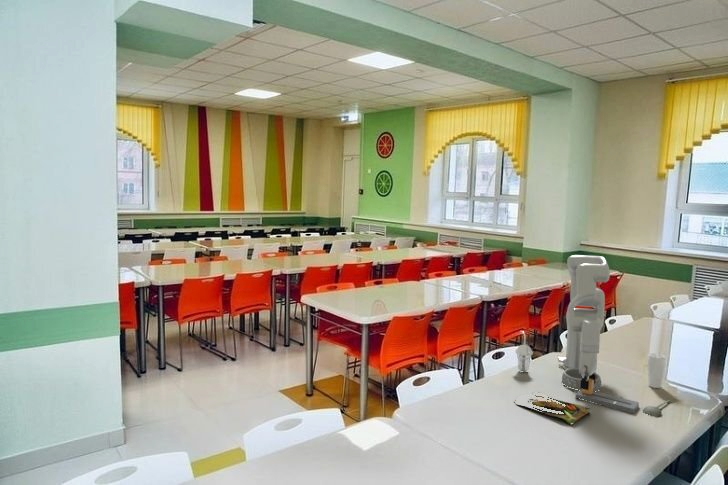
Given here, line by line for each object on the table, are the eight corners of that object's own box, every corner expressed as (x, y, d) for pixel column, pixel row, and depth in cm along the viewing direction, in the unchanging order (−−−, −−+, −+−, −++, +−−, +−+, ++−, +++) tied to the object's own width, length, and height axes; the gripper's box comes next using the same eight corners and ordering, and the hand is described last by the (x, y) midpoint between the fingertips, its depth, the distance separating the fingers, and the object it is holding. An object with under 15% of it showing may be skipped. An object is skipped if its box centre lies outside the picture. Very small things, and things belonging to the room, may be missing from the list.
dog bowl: (601, 381, 240) (601, 370, 240) (601, 395, 224) (601, 383, 223) (563, 375, 248) (563, 365, 247) (560, 388, 231) (561, 377, 231)
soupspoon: (639, 415, 206) (656, 421, 201) (640, 407, 205) (657, 413, 200) (662, 400, 219) (678, 406, 214) (662, 393, 219) (679, 398, 213)
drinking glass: (665, 389, 230) (667, 358, 229) (649, 388, 231) (651, 357, 230) (659, 384, 237) (662, 353, 235) (644, 383, 238) (646, 352, 237)
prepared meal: (510, 395, 213) (534, 385, 224) (509, 403, 214) (533, 392, 225) (572, 421, 192) (595, 408, 203) (571, 430, 192) (594, 416, 203)
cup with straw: (513, 373, 250) (515, 334, 248) (515, 367, 258) (517, 329, 256) (531, 375, 247) (533, 336, 245) (532, 369, 255) (534, 331, 253)
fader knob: (581, 392, 220) (582, 379, 220) (583, 390, 223) (584, 377, 222) (591, 394, 218) (591, 381, 217) (593, 392, 220) (593, 379, 219)
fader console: (575, 398, 219) (575, 393, 219) (582, 392, 226) (582, 387, 226) (633, 413, 204) (633, 408, 204) (638, 406, 211) (638, 401, 211)
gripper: (586, 342, 227) (585, 378, 228) (574, 350, 214) (572, 389, 215) (604, 345, 222) (602, 382, 224) (592, 354, 209) (590, 393, 210)
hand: (587, 385), depth 219 cm, fingers open, 9 cm apart
